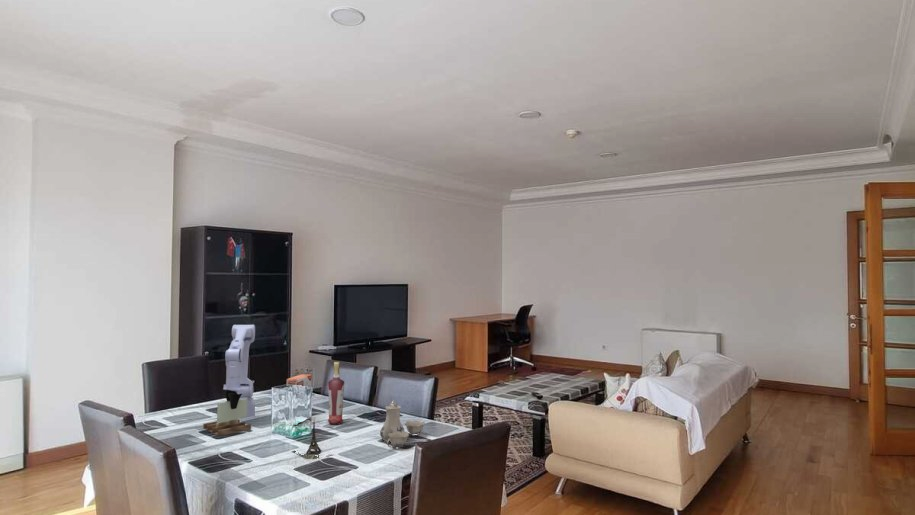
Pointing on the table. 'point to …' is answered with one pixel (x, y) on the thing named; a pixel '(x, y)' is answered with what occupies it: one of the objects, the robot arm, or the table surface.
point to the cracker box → (300, 380)
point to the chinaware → (398, 427)
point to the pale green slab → (231, 411)
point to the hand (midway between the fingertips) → (232, 408)
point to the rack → (226, 428)
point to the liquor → (335, 396)
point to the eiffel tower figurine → (314, 446)
